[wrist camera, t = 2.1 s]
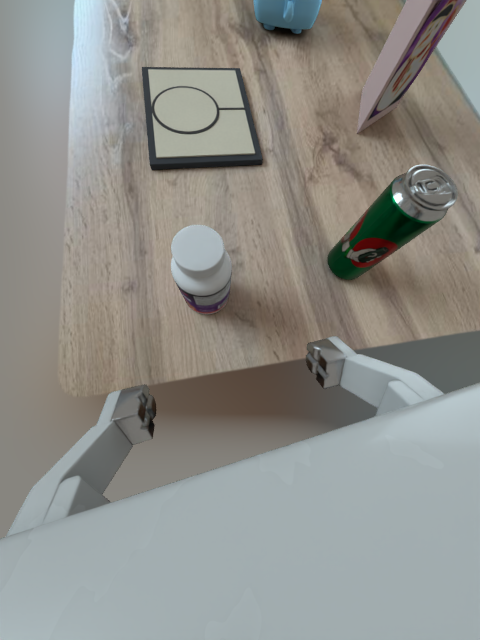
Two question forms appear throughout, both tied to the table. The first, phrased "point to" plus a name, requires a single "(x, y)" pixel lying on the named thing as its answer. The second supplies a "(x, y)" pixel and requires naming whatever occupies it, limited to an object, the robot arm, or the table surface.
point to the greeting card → (405, 55)
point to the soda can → (393, 220)
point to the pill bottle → (201, 268)
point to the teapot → (287, 13)
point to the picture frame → (198, 118)
